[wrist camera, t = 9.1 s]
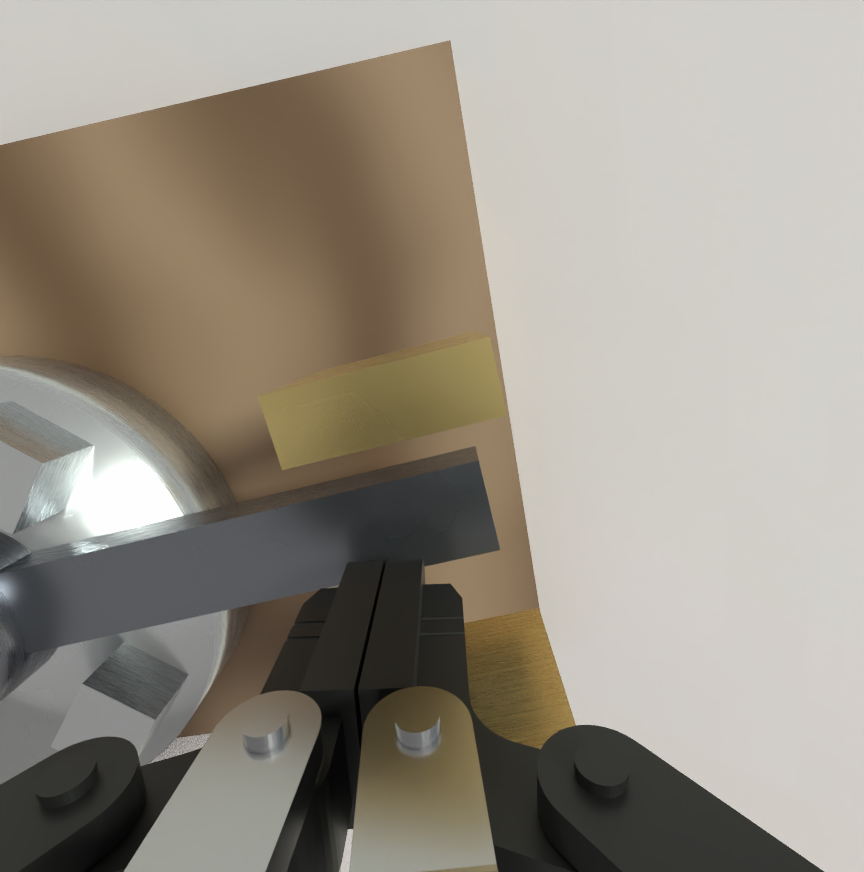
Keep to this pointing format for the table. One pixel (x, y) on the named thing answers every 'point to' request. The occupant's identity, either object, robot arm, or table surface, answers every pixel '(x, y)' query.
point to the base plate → (267, 283)
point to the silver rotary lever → (227, 542)
